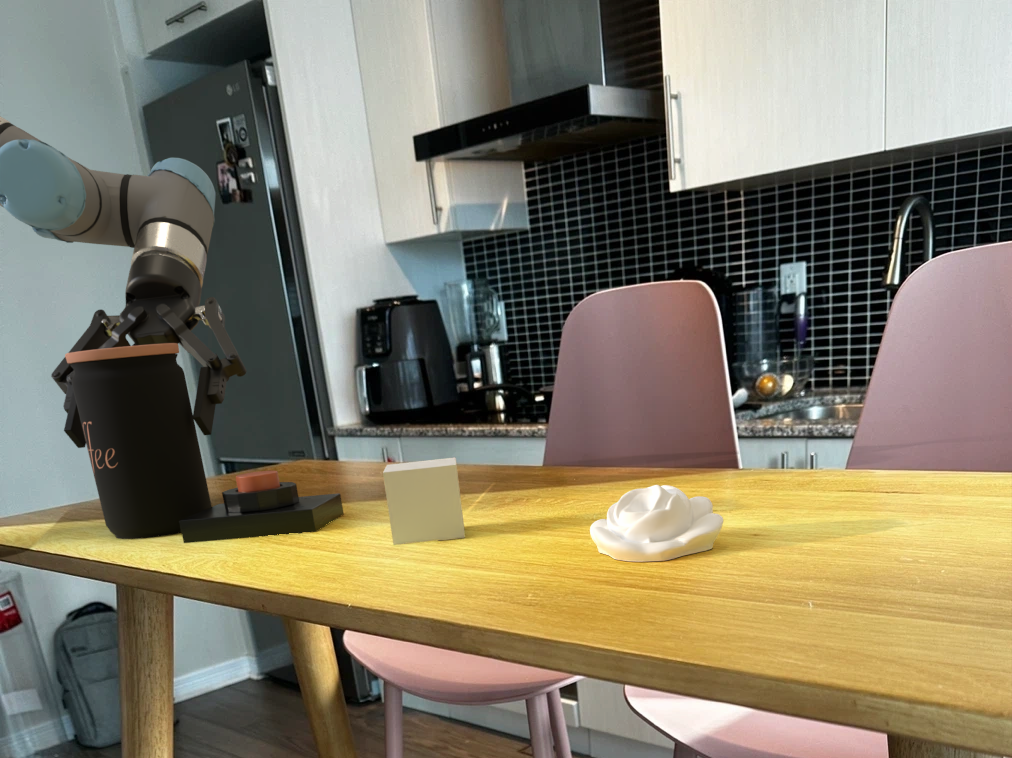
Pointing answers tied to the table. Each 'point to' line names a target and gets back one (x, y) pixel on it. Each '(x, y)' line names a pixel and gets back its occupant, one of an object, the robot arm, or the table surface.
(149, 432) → the coffee jar
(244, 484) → the button
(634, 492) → the rose
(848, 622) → the table surface
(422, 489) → the beige cube
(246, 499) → the control block
